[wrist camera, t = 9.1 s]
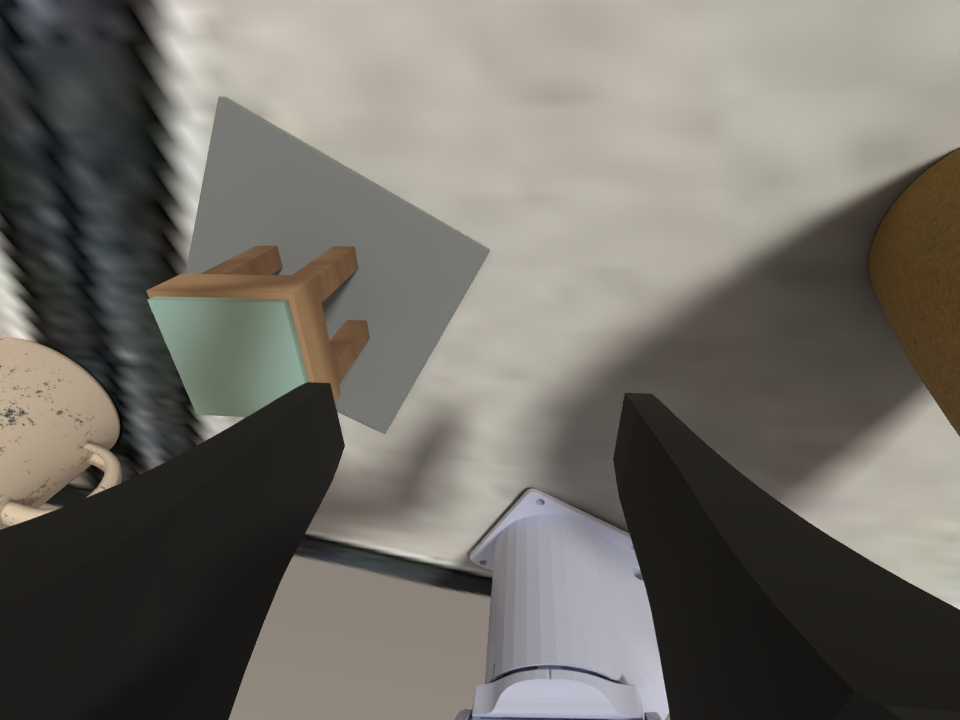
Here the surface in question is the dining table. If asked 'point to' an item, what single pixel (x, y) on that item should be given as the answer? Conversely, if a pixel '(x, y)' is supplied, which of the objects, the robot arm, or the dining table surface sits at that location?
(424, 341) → the mat
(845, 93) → the dining table surface
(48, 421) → the teacup with lid
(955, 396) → the plant pot
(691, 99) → the dining table surface
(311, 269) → the stool
